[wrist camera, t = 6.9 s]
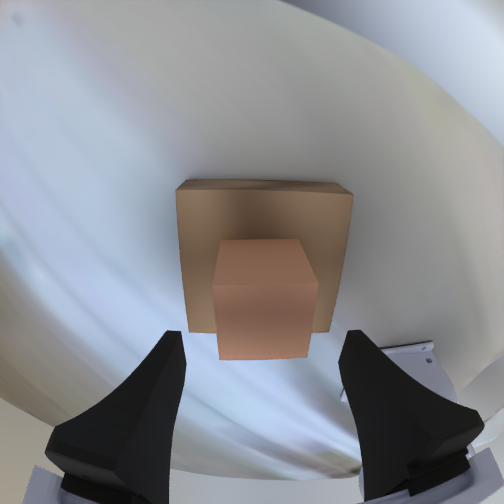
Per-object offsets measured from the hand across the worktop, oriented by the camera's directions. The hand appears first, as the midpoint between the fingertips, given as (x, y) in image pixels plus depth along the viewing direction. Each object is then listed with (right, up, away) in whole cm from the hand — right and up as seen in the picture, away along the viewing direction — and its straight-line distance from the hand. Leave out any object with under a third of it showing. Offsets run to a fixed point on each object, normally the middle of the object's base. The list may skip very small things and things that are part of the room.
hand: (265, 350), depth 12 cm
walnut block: (0, +5, +9) cm, 10 cm away
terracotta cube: (0, +3, +6) cm, 6 cm away
